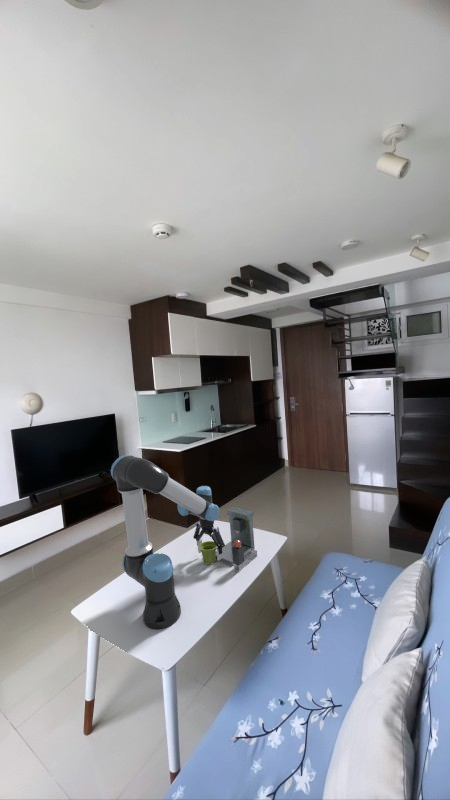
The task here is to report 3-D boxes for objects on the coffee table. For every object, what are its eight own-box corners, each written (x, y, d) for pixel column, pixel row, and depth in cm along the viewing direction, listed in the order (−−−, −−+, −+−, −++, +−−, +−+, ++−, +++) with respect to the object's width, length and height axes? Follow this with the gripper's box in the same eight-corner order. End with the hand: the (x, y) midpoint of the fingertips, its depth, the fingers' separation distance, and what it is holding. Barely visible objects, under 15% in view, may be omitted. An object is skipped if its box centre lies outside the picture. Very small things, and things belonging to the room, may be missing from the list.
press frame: (239, 571, 157) (236, 531, 156) (209, 559, 169) (206, 522, 168) (264, 550, 175) (261, 513, 173) (236, 540, 187) (233, 506, 186)
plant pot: (198, 559, 170) (196, 544, 170) (214, 554, 174) (213, 539, 174) (204, 568, 162) (203, 552, 161) (221, 562, 166) (220, 546, 165)
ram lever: (239, 565, 156) (237, 543, 156) (233, 562, 159) (231, 540, 158) (244, 561, 160) (242, 539, 159) (237, 558, 162) (236, 537, 161)
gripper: (229, 518, 162) (233, 559, 163) (194, 509, 178) (198, 545, 179) (219, 524, 156) (223, 566, 157) (184, 514, 172) (188, 552, 173)
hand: (210, 555), depth 168 cm, fingers open, 13 cm apart
